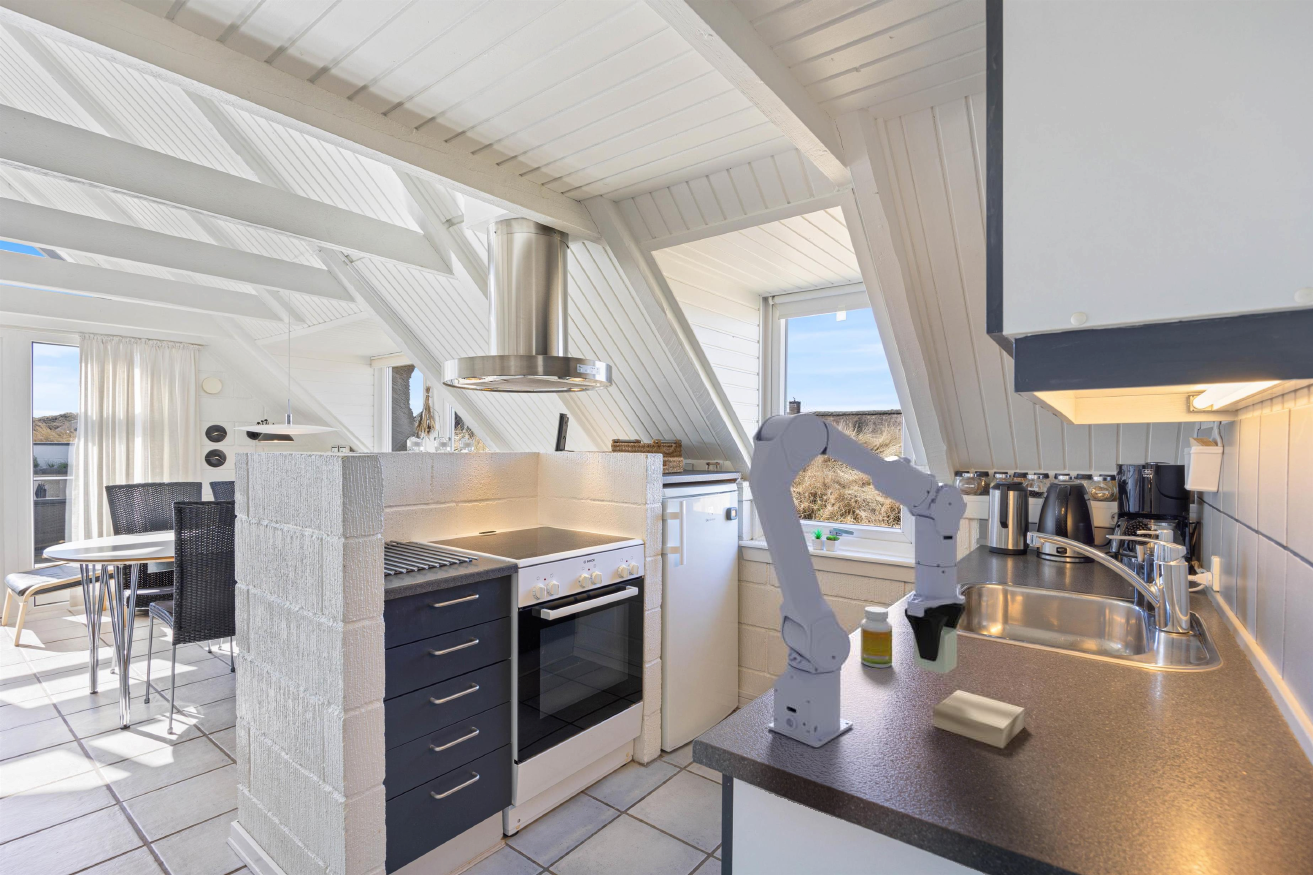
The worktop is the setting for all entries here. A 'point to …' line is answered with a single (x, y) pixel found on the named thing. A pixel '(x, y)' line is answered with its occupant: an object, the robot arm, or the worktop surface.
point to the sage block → (940, 653)
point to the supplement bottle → (876, 638)
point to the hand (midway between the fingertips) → (935, 655)
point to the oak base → (979, 718)
